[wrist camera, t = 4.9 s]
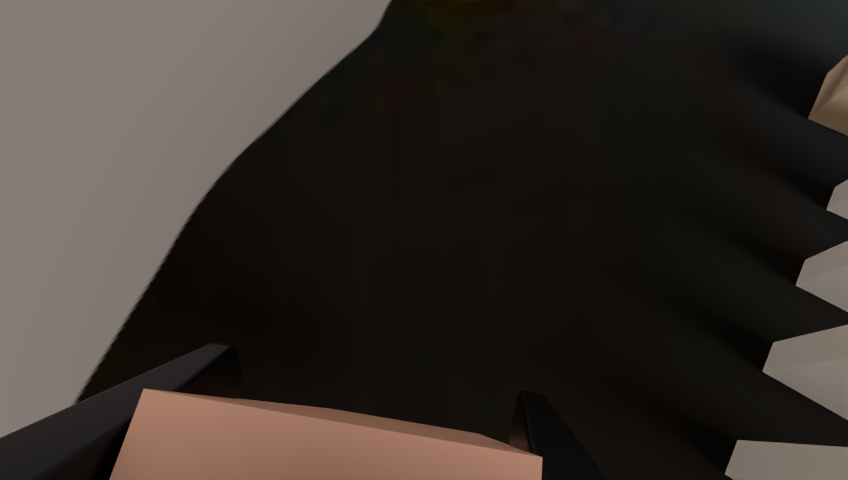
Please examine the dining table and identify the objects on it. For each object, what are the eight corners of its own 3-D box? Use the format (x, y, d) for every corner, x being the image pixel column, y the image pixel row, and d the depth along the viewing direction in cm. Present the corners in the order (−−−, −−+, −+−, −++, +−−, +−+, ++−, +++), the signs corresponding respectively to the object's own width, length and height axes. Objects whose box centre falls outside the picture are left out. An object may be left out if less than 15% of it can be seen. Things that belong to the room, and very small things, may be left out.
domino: (472, 488, 14) (534, 629, 4) (318, 460, 14) (88, 535, 5) (478, 433, 14) (542, 457, 5) (330, 408, 15) (143, 388, 6)
